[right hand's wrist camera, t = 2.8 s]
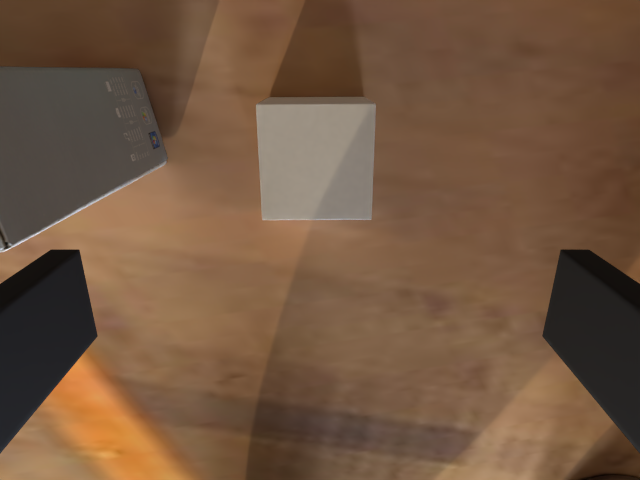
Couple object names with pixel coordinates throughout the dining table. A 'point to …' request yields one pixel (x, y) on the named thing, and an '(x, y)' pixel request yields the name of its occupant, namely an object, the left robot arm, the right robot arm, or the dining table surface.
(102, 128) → the hard drive box
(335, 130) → the block
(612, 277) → the right robot arm
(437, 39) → the dining table surface
